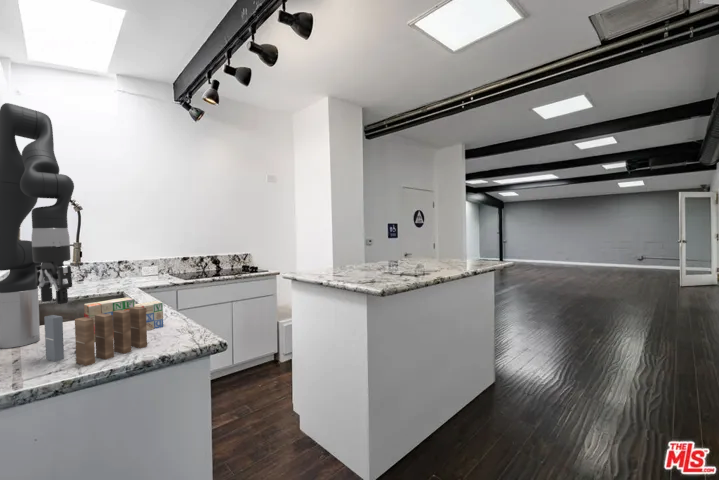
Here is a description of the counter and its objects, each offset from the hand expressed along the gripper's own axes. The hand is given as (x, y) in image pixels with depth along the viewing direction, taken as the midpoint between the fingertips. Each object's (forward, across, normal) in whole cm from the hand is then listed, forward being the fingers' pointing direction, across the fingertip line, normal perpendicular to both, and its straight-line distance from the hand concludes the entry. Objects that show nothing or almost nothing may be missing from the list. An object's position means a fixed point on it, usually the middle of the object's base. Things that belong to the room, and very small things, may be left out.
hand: (54, 302), depth 87 cm
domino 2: (+16, +11, +2) cm, 20 cm away
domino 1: (+16, 0, 0) cm, 16 cm away
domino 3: (+16, +11, +6) cm, 21 cm away
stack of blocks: (+16, -7, +21) cm, 28 cm away
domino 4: (+16, +11, +10) cm, 22 cm away
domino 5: (+16, +11, +15) cm, 25 cm away
